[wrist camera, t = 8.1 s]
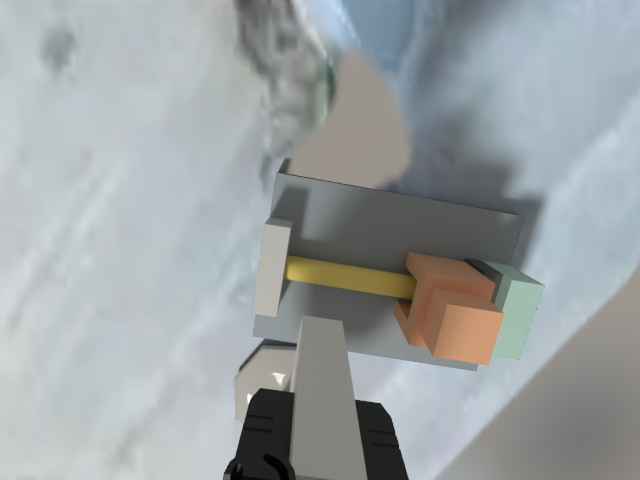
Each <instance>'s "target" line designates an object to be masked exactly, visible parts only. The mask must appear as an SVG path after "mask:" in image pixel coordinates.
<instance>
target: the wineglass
mask: <svg viewBox="0 0 640 480" xmlns="http://www.w3.org/2000/svg"><path fill="white" fill-rule="evenodd" d="M296 348H297V346H274V345H263V346H262V347H261V348H260V349H259V350H258V351H257V353H256V354H255V355H254V356H253V357H252V358H251V359H250V361H249V362H248V363H247V364H246V365H245V366H244V367H243V369H242V370H241V371H240V372H239V373H238V374H237V375H236V377H235V418H236V419H237V420H239V421H240V422H242V423H243V424H244V421H245V417H246V413H247V409H248V405H249V401H250V399H251V398H252V396H253V395H254V394H255V393H256V392H257V391H258V390H259V389H260V388H265V389H272V390H279V391H287V392H290V385H291V377H292V371H293V365H294V360H295V354H296Z"/></svg>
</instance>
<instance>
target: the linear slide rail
mask: <svg viewBox="0 0 640 480" xmlns="http://www.w3.org/2000/svg"><path fill="white" fill-rule="evenodd" d="M523 219H524V216H520V215H517V214H512V213H506V212H500V211H495V210H489V209H483V208H478V207H472V206H466V205H461V204H455V203H449V202H444V201H438V200H432V199H427V198H421V197H415V196H410V195H404V194H398V193H393V192H387V191H381V190H376V189H370V188H365V187H359V186H353V185H348V184H342V183H335V182H331V181H324V180H319V179H313V178H308V177H302V176H297V175H291V174H285V173H280V172H277V173H276V178H275V185H274V192H273V199H272V206H271V213H270V218H269V219H268V220H267V222H266V223H265V225H264V232H263V239H262V246H261V253H260V261H259V268H258V275H257V282H256V289H255V296H254V303H253V310H252V313H253V314H256V317H255V324H254V331H253V337H259V338H266V339H272V340H278V341H285V342H291V343H298V337H299V332H300V326H301V320H302V315H305V316H312V317H318V318H325V319H332V320H338V321H342V323H343V329H344V335H345V342H346V348H347V351H349V352H356V353H362V354H368V355H375V356H381V357H388V358H394V359H401V360H407V361H413V362H420V363H426V364H433V365H439V366H446V367H452V368H458V369H465V370H471V371H476V370H477V367H478V364H476V363H470V362H464V361H457V360H451V359H444V358H438V357H433V356H432V354H431V352H430V351H429V349H428V348H424V347H418V346H411V345H408V342H407V340H406V338H405V336H404V334H403V332H402V330H401V328H400V326H399V324H398V322H397V320H396V317H395V315H394V309H395V305H396V300H398V301H404V302H410V303H412V301H413V297H414V293H415V289H416V285H417V280H416V279H415V278H414V277H413V275H412V274H411V273H410V272H409V270H408V269H407V268H406V266H405V263H406V259H407V255H408V252H412V253H418V254H423V255H429V256H435V257H441V258H447V259H453V260H459V261H465V262H466V263H467V264H469V265H470V266H472V267H473V268H474V269H476V270H477V271H479V272H480V273H481V274H483V275H484V276H485V277H487V278H488V279H490V280H491V281H492V282H494V283H495V288H494V291H493V294H492V297H491V302H492V303H493V304H494V305H495V306H496V307H498V308H499V309H500V310H501V311H502V312H504V313H505V314H504V317H503V320H502V324H501V327H500V330H499V333H498V336H497V339H496V342H495V346H494V349H493V352H492V355H491V356H497V357H503V358H509V359H516V360H520V357H521V354H522V351H523V348H524V345H525V342H526V339H527V336H528V333H529V330H530V327H531V324H532V321H533V318H534V315H535V312H536V309H537V307H538V304H539V301H540V298H541V295H542V292H543V289H544V286H545V285H543V284H541V283H539V282H538V281H536V280H534V279H532V278H531V277H529V276H527V275H525V274H524V273H522V272H520V271H518V270H517V269H515V268H513V267H511V266H510V265H509V264H510V261H511V258H512V255H513V251H514V248H515V245H516V242H517V238H518V235H519V232H520V229H521V226H522V222H523Z"/></svg>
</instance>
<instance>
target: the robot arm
mask: <svg viewBox="0 0 640 480" xmlns="http://www.w3.org/2000/svg"><path fill="white" fill-rule="evenodd" d="M223 480H409V479H408V475H407V472H406V468H405V465H404V461H403V458H402V454H401V451H400V449H399V444H398V440H397V437H396V436H395V429H394V426H393V422H392V419H391V417H390V415H389V414H388V413H387V411H386V410H385V409H384V407H383V406H382V405H381V403H375V402H367V401H360V400H355V398H354V392H353V386H352V379H351V373H350V367H349V360H348V354H347V348H346V342H345V335H344V329H343V323H342V321H338V320H332V319H325V318H318V317H312V316H305V315H302V320H301V326H300V332H299V337H298V343H297V348H296V354H295V360H294V365H293V371H292V377H291V385H290V392H287V391H279V390H272V389H265V388H260V389H259V390H258V391H257V392H256V393H255V394H254V395H253V396H252V398H251V399H250V401H249V405H248V409H247V413H246V417H245V421H244V424H243V429H242V432H241V436H240V440H239V444H238V448H237V452H236V456H235V458H234V459H233V460H231V461H230V463H229V465H228V466H227V468H226V470H225V472H224V476H223Z"/></svg>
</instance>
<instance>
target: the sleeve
mask: <svg viewBox="0 0 640 480" xmlns="http://www.w3.org/2000/svg"><path fill="white" fill-rule="evenodd" d="M405 266H406V268H407V269H408V270H409V272H410V273H411V274H412V275H413V277H414V278H415V279H416V280H417V285H416V289H415V293H414V297H413V301H412V303H410V302H404V301H398V300H396V305H395V309H394V315H395V317H396V320H397V322H398V324H399V326H400V328H401V330H402V332H403V334H404V336H405V338H406V340H407V342H408V345H411V346H418V347H424V348H428V349H429V351H430V352H431V354H432V356H433V357H438V358H444V359H451V360H457V361H464V362H470V363H476V364H483V365H488V364H489V361H490V358H491V355H492V352H493V349H494V346H495V342H496V339H497V336H498V333H499V330H500V327H501V324H502V320H503V317H504V314H505V313H504V312H502V311H501V310H500V309H499V308H498V307H496V306H495V305H494V304H493V303H492V302H491V297H492V294H493V291H494V288H495V283H494V282H492V281H491V280H490V279H488V278H487V277H485V276H484V275H483V274H481V273H480V272H479V271H477V270H476V269H474V268H473V267H472V266H470V265H469V264H467V263H466V262H465V261H459V260H453V259H447V258H441V257H435V256H429V255H423V254H418V253H412V252H408V255H407V259H406V263H405Z"/></svg>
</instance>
